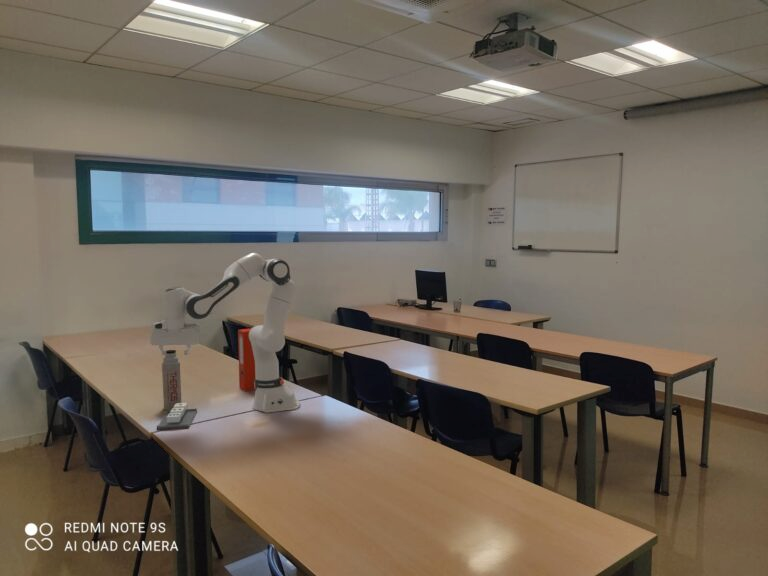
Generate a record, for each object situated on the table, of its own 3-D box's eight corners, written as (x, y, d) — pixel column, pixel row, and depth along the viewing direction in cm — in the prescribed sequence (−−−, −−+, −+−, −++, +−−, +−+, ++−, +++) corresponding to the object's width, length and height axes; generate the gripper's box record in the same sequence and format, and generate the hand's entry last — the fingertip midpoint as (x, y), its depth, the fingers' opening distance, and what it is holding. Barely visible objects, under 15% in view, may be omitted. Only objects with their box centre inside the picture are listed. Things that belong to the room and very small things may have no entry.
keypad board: (196, 412, 250) (196, 408, 250) (188, 428, 230) (188, 424, 230) (167, 413, 248) (167, 409, 248) (156, 430, 228) (156, 426, 228)
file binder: (275, 385, 293) (273, 328, 290) (244, 391, 283) (243, 331, 280) (269, 382, 300) (267, 326, 297) (239, 387, 290) (237, 329, 287)
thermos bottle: (180, 409, 254) (178, 351, 251) (162, 411, 252) (160, 352, 249) (182, 404, 262) (180, 348, 259) (165, 405, 259) (162, 349, 257)
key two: (184, 412, 242) (184, 407, 241) (182, 416, 237) (182, 410, 237) (172, 413, 241) (172, 407, 241) (170, 417, 236) (170, 411, 236)
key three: (181, 417, 235) (181, 412, 235) (179, 421, 230) (178, 416, 230) (169, 418, 234) (169, 413, 234) (166, 422, 229) (166, 416, 229)
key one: (187, 407, 249) (187, 402, 248) (185, 411, 244) (185, 405, 243) (176, 408, 248) (175, 403, 247) (173, 411, 243) (173, 406, 243)
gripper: (200, 322, 240) (201, 352, 241) (152, 322, 237) (153, 353, 238) (197, 324, 234) (198, 355, 235) (148, 325, 231) (149, 356, 232)
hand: (175, 354), depth 236 cm, fingers open, 8 cm apart
